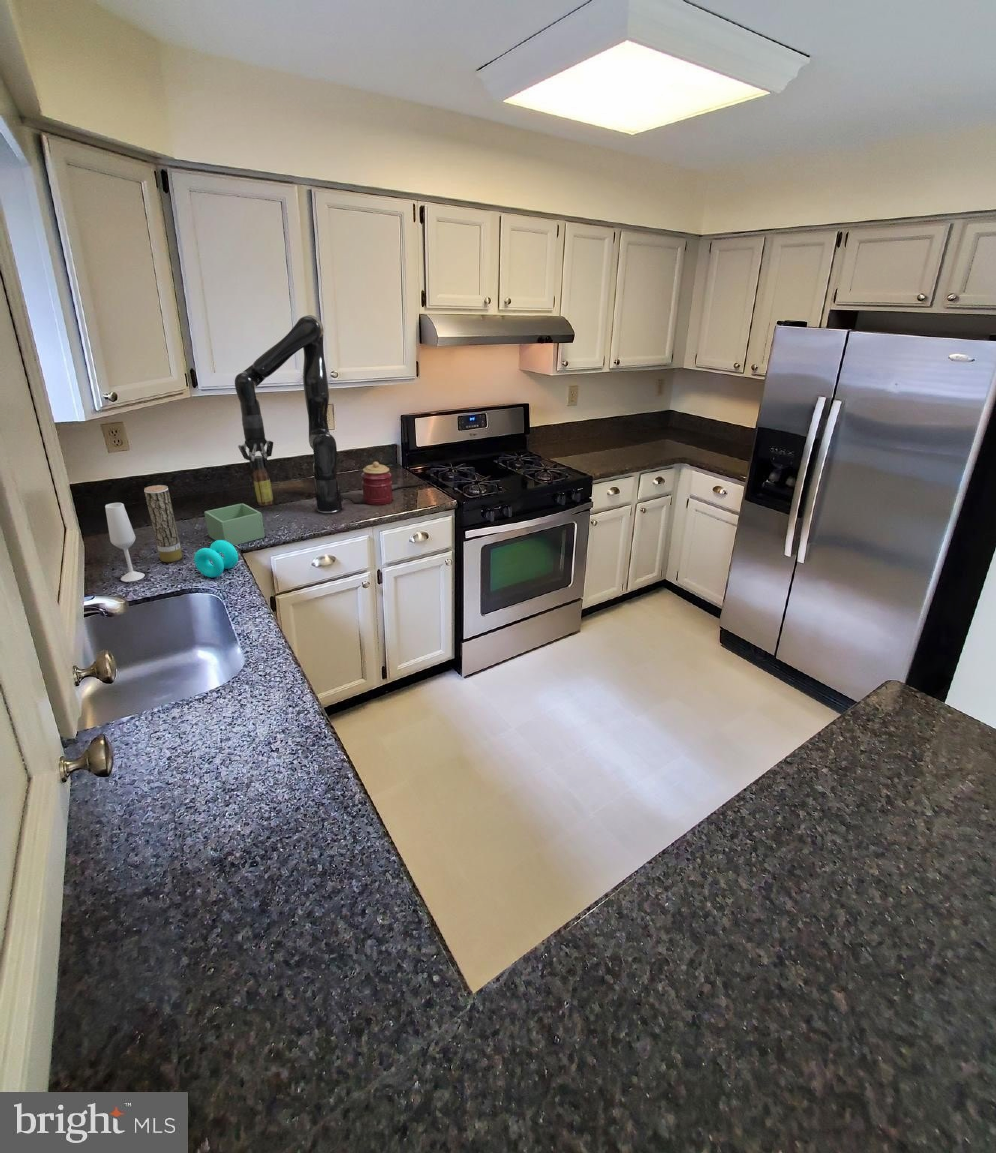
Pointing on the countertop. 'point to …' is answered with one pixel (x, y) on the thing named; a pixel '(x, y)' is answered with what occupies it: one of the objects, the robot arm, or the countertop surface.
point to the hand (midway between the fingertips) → (259, 468)
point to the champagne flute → (122, 536)
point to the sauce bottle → (262, 483)
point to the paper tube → (163, 523)
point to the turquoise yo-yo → (216, 558)
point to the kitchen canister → (377, 484)
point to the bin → (235, 524)
